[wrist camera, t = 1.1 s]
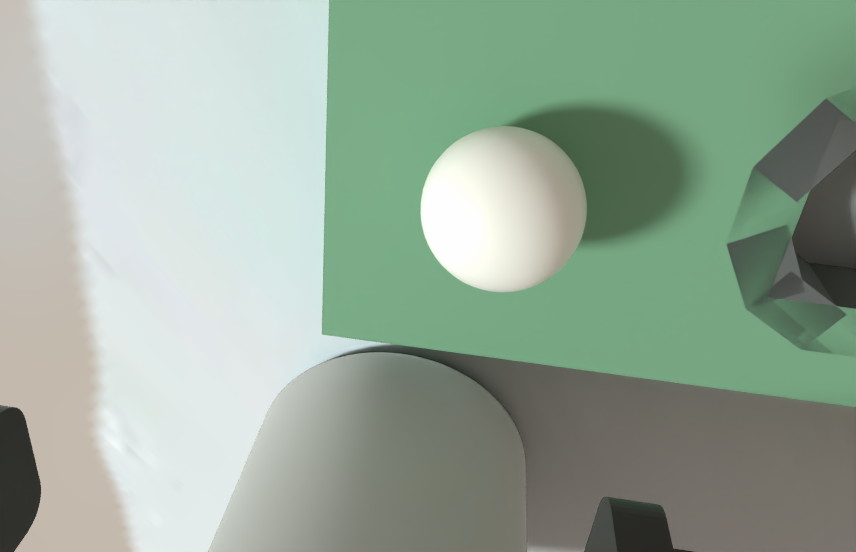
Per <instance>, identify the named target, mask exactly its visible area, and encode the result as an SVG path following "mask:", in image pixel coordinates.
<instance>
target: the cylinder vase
mask: <svg viewBox="0 0 856 552" xmlns="http://www.w3.org/2000/svg"><path fill="white" fill-rule="evenodd" d="M208 552H527V514H526V459H525V452H524V448H523V444H522V440H521V437H520V435H519V432H518V430H517V428H516V426H515V424H514V422H513V421H512V419H511V417H510V416H509V414H508V413H507V411H506V410H505V409H504V408H503V406H502V405H501V404H500V403H499V402H498V401H497V400H496V399H495V398H494V397H493V396H492V395H491V394H490V393H489V392H488V391H487V390H486V389H485V388H483V387H482V386H481V385H479V384H478V383H477V382H475V381H474V380H472V379H471V378H469V377H468V376H466V375H464V374H462V373H460V372H459V371H457V370H455V369H453V368H450V367H448V366H446V365H443V364H441V363H438V362H435V361H432V360H429V359H425V358H422V357H417V356H413V355H407V354H400V353H389V352H370V353H359V354H352V355H347V356H342V357H338V358H335V359H332V360H329V361H326V362H323V363H321V364H319V365H316V366H314V367H312V368H310V369H309V370H307V371H305V372H304V373H302V374H301V375H299V376H298V377H296V378H295V379H294V380H293V381H291V382H290V383H289V384H288V385H287V386H286V387H285V388H284V389H283V390H282V391H281V392H280V393H279V395H278V396H277V397H276V399H275V400H274V401H273V403H272V405H271V406H270V408H269V410H268V412H267V414H266V417H265V419H264V421H263V424H262V426H261V428H260V431H259V433H258V435H257V438H256V440H255V442H254V445H253V447H252V450H251V452H250V454H249V457H248V459H247V461H246V464H245V466H244V468H243V471H242V473H241V475H240V478H239V480H238V483H237V485H236V487H235V490H234V492H233V494H232V497H231V499H230V501H229V504H228V506H227V508H226V511H225V513H224V516H223V518H222V520H221V523H220V525H219V527H218V530H217V532H216V534H215V537H214V539H213V542H212V544H211V546H210V549H209V551H208Z"/></svg>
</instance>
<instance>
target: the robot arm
mask: <svg viewBox="0 0 856 552" xmlns="http://www.w3.org/2000/svg"><path fill="white" fill-rule="evenodd" d="M40 497H41V485H40V479H39V476H38V471H37V467H36V463H35V458H34V454H33V450H32V445H31V441H30V437H29V433H28V428H27V424H26V420H25V417H24V415H23V413H22V411H21V410H20V409H18V408H14V407H8V406H1V405H0V552H14V551H15V549H16V548H17V546H18V545H19V544H20V542H21V541H22V539H23V538H24V536H25V535H26V534H27V532H28V530H29V528H30V527H31V525H32V523H33V521H34V519H35V517H36V514H37V511H38V507H39V503H40ZM584 552H692V551H685V550H679V549H673V546H672V542H671V537H670V533H669V528H668V524H667V519H666V516H665V512H664V510H663V508H662V507H661V506H660V505H657V504H650V503H643V502H637V501H630V500H623V499H616V498H610V497H604V498H603V499H602V500H601V502H600V504H599V507H598V510H597V513H596V516H595V520H594V523H593V526H592V529H591V532H590V535H589V538H588V542H587V545H586V548H585V551H584Z"/></svg>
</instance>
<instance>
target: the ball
mask: <svg viewBox="0 0 856 552" xmlns="http://www.w3.org/2000/svg"><path fill="white" fill-rule="evenodd" d="M420 214H421V223H422V228H423V232H424V235H425V238H426V241H427V243H428V245H429V247H430V249H431V251H432V253H433V254H434V256H435V258H436V259H437V260H438V261H439V263H440V264H441V265H442V266H443V267H444V268H445V269H446V270H447V271H448V272H449V273H451V274H452V275H453V276H454V277H456V278H457V279H459V280H460V281H462V282H464V283H466V284H468V285H470V286H472V287H475V288H478V289H482V290H486V291H491V292H514V291H520V290H524V289H528V288H531V287H533V286H536V285H538V284H540V283H542V282H544V281H546V280H547V279H549V278H550V277H552V276H553V275H554V274H556V273H557V272H558V271H559V270H560V269H561V268H563V267H564V265H565V264H566V263H567V262H568V261H569V259H570V258H571V256H572V255H573V253H574V252H575V250H576V249H577V247H578V245H579V243H580V240H581V238H582V235H583V231H584V228H585V223H586V217H587V200H586V193H585V189H584V186H583V182H582V179H581V177H580V174H579V172H578V170H577V168H576V167H575V165H574V163H573V162H572V160H571V159H570V158H569V157H568V156H567V154H566V153H565V152H564V151H563V150H562V149H561V148H560V147H559V146H558V145H556V144H555V143H554V142H553V141H551V140H550V139H548V138H546V137H545V136H543V135H541V134H539V133H536V132H534V131H531V130H527V129H524V128H519V127H512V126H497V127H490V128H485V129H481V130H478V131H475V132H472V133H470V134H468V135H466V136H464V137H462V138H461V139H459V140H457V141H456V142H454V143H453V144H452V145H451V146H450V147H449V148H447V149H446V150H445V151H444V153H443V154H442V155H441V156H440V157H439V158H438V159H437V161H436V162H435V164H434V165H433V167H432V168H431V170H430V172H429V175H428V177H427V179H426V181H425V185H424V188H423V192H422V197H421V212H420Z"/></svg>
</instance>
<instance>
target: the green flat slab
mask: <svg viewBox="0 0 856 552" xmlns="http://www.w3.org/2000/svg"><path fill="white" fill-rule="evenodd" d="M497 126H512V127H519V128H524V129H527V130H531V131H534V132H536V133H539V134H541V135H543V136H545V137H546V138H548V139H550V140H551V141H553V142H554V143H555V144H556V145H558V146H559V147H560V148H561V149H562V150H563V151H564V152H565V153H566V154H567V156H568V157H569V158H570V159H571V160H572V162H573V163H574V165H575V167H576V168H577V170H578V172H579V174H580V177H581V179H582V182H583V186H584V189H585V193H586V200H587V217H586V223H585V228H584V231H583V235H582V238H581V240H580V243H579V245H578V247H577V249H576V250H575V252H574V253H573V255H572V256H571V258H570V259H569V261H568V262H567V263H566V264H565V265H564V267H563V268H561V269H560V270H559V271H558V272H557V273H556V274H554V275H553V276H552V277H550V278H549V279H547V280H546V281H544V282H542V283H540V284H538V285H536V286H533V287H531V288H528V289H524V290H520V291H514V292H491V291H486V290H482V289H478V288H475V287H472V286H470V285H468V284H466V283H464V282H462V281H460V280H459V279H457V278H456V277H454V276H453V275H452V274H451V273H449V272H448V271H447V270H446V269H445V268H444V267H443V266H442V265H441V264H440V263H439V261H438V260H437V259H436V258H435V256H434V254H433V253H432V251H431V249H430V247H429V245H428V243H427V241H426V238H425V235H424V232H423V228H422V223H421V214H420V212H421V197H422V192H423V188H424V185H425V181H426V179H427V177H428V175H429V172H430V170H431V168H432V167H433V165H434V164H435V162H436V161H437V159H438V158H439V157H440V156H441V155H442V154H443V153H444V151H445V150H446V149H447V148H449V147H450V146H451V145H452V144H453V143H454V142H456V141H457V140H459V139H461V138H462V137H464V136H466V135H468V134H470V133H472V132H475V131H478V130H481V129H485V128H490V127H497ZM854 151H856V0H329V34H328V80H327V126H326V172H325V217H324V263H323V309H322V334H323V335H330V336H338V337H345V338H352V339H359V340H367V341H374V342H381V343H389V344H396V345H403V346H411V347H418V348H425V349H433V350H440V351H447V352H454V353H462V354H469V355H476V356H484V357H491V358H498V359H506V360H513V361H520V362H528V363H535V364H542V365H549V366H557V367H564V368H571V369H579V370H586V371H593V372H601V373H608V374H615V375H623V376H630V377H637V378H644V379H652V380H659V381H666V382H674V383H681V384H688V385H696V386H703V387H710V388H718V389H725V390H732V391H739V392H747V393H754V394H761V395H769V396H776V397H783V398H791V399H798V400H805V401H813V402H820V403H827V404H834V405H842V406H849V407H856V269H850V268H842V267H835V266H827V265H819V264H812V263H808V262H806V261H805V260H804V259H802V258H801V257H800V256H799V255H797V254H796V253H795V250H794V246H793V242H792V235H793V233H794V230H795V228H796V225H797V223H798V220H799V218H800V215H801V213H802V210H803V208H804V205H805V203H806V200H807V198H808V195H809V193H810V190H811V189H812V188H814V187H815V186H816V185H817V184H818V183H819V182H820V181H822V180H823V179H824V178H825V177H826V176H827V175H828V174H829V173H831V172H832V171H833V170H834V169H835V168H836V167H837V166H839V165H840V164H841V163H842V162H843V161H844V160H845V159H846V158H848V157H849V156H850V155H851V154H852V153H853V152H854Z"/></svg>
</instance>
